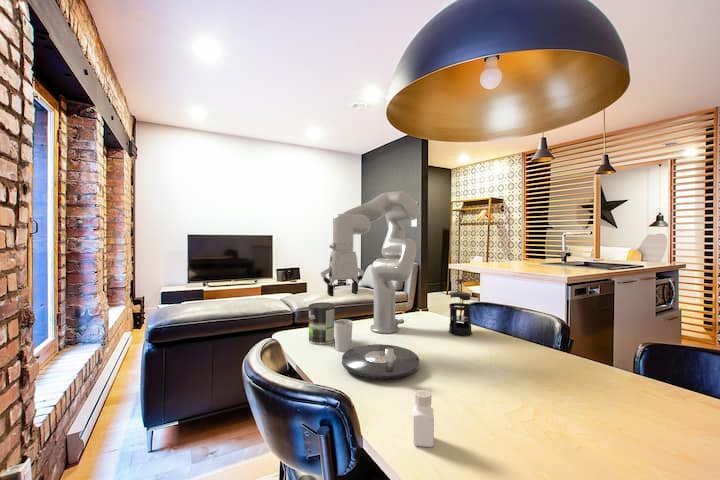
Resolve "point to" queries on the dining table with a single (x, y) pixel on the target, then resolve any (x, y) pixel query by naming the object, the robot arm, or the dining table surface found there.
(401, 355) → the turntable
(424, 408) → the white pill bottle
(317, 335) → the coffee can
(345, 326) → the drinking glass
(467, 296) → the french press
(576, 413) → the dining table surface
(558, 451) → the dining table surface
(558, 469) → the dining table surface
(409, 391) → the dining table surface
